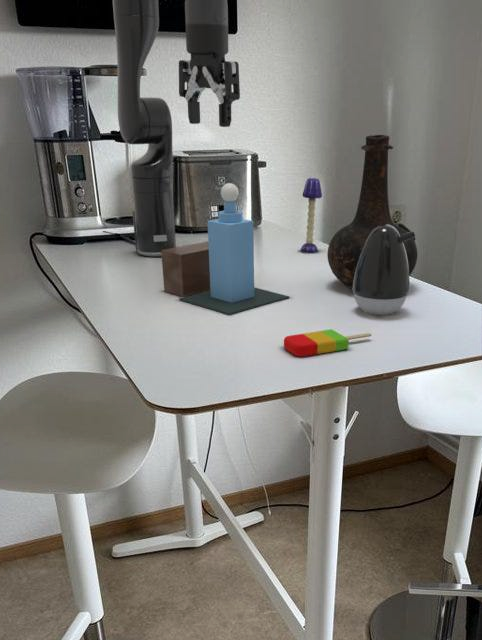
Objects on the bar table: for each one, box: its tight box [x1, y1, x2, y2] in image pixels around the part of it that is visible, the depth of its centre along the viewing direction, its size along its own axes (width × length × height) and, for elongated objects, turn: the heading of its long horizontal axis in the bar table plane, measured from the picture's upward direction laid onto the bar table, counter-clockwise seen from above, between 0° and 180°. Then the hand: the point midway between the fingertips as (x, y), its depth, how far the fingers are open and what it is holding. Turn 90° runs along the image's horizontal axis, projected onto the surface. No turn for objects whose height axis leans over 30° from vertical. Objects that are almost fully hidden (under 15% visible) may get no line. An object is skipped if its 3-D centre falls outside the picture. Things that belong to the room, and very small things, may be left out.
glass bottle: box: [326, 134, 418, 289], centre depth 136 cm, size 18×18×28 cm
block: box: [161, 241, 210, 298], centre depth 139 cm, size 6×12×8 cm, turn 137°
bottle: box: [207, 182, 255, 303], centre depth 130 cm, size 14×6×19 cm, turn 47°
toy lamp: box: [300, 177, 323, 254], centre depth 168 cm, size 5×5×17 cm
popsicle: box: [283, 328, 372, 357], centre depth 111 cm, size 6×15×2 cm, turn 116°
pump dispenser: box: [352, 224, 416, 316], centre depth 124 cm, size 10×10×15 cm
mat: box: [178, 287, 290, 316], centre depth 135 cm, size 14×16×1 cm
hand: (209, 125), depth 131 cm, fingers open, 8 cm apart
